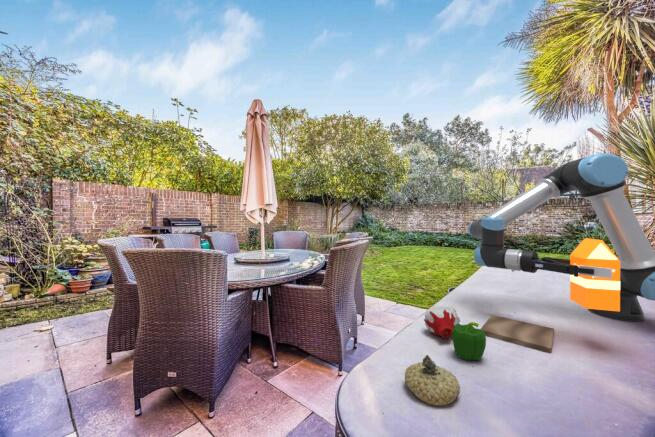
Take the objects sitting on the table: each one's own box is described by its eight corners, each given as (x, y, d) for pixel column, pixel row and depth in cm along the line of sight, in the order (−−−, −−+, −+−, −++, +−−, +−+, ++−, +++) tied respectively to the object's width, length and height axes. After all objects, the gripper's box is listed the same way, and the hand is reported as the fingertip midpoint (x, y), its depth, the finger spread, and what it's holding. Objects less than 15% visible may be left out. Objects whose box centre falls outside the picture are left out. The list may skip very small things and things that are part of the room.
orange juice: (600, 301, 82) (600, 238, 82) (620, 311, 74) (621, 240, 74) (569, 299, 85) (569, 237, 84) (585, 308, 76) (585, 240, 76)
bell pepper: (444, 352, 75) (444, 317, 75) (464, 346, 78) (464, 313, 78) (471, 368, 67) (471, 329, 67) (492, 360, 71) (492, 324, 71)
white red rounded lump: (454, 324, 93) (467, 351, 78) (420, 321, 95) (427, 347, 81) (455, 300, 92) (469, 323, 77) (421, 298, 94) (428, 319, 79)
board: (554, 333, 88) (554, 328, 88) (551, 353, 74) (551, 348, 74) (491, 318, 100) (491, 314, 100) (479, 334, 87) (480, 329, 87)
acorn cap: (399, 374, 65) (398, 362, 58) (438, 357, 66) (442, 343, 59) (420, 421, 58) (423, 413, 51) (464, 401, 59) (472, 391, 52)
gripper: (532, 267, 100) (618, 278, 83) (510, 275, 87) (608, 290, 69) (532, 247, 100) (619, 254, 83) (510, 253, 87) (608, 262, 69)
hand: (614, 271), depth 76 cm, fingers closed on orange juice, 10 cm apart
